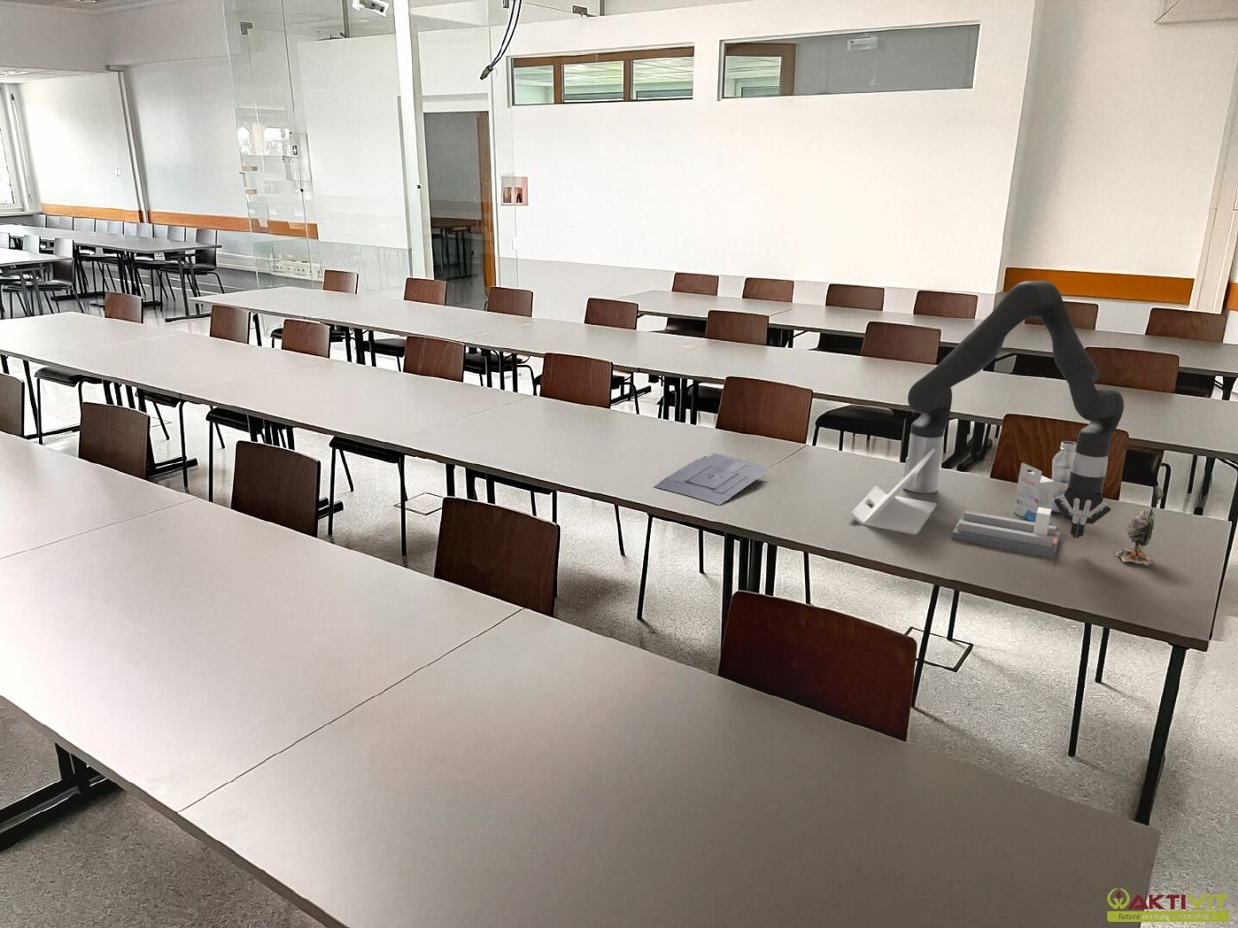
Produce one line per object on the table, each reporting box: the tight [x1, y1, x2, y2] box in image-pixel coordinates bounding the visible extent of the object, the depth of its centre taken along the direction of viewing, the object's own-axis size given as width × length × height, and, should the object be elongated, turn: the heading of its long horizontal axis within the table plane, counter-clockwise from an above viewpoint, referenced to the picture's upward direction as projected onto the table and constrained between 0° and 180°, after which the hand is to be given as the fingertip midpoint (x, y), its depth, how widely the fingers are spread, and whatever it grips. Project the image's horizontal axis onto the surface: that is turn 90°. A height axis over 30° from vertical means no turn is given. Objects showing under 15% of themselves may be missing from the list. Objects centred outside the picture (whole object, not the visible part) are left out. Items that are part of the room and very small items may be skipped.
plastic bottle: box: [1050, 440, 1077, 514], centre depth 240 cm, size 6×7×20 cm
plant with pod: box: [1116, 485, 1164, 567], centre depth 210 cm, size 8×11×20 cm
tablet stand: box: [849, 448, 937, 536], centre depth 239 cm, size 18×25×17 cm
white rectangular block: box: [1033, 507, 1052, 536], centre depth 219 cm, size 3×4×7 cm
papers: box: [653, 452, 770, 506], centre depth 265 cm, size 24×30×4 cm
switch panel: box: [951, 510, 1061, 559], centre depth 224 cm, size 24×14×4 cm, turn 60°
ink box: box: [1013, 462, 1055, 523], centre depth 237 cm, size 8×5×15 cm, turn 14°
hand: (1076, 536), depth 216 cm, fingers closed
